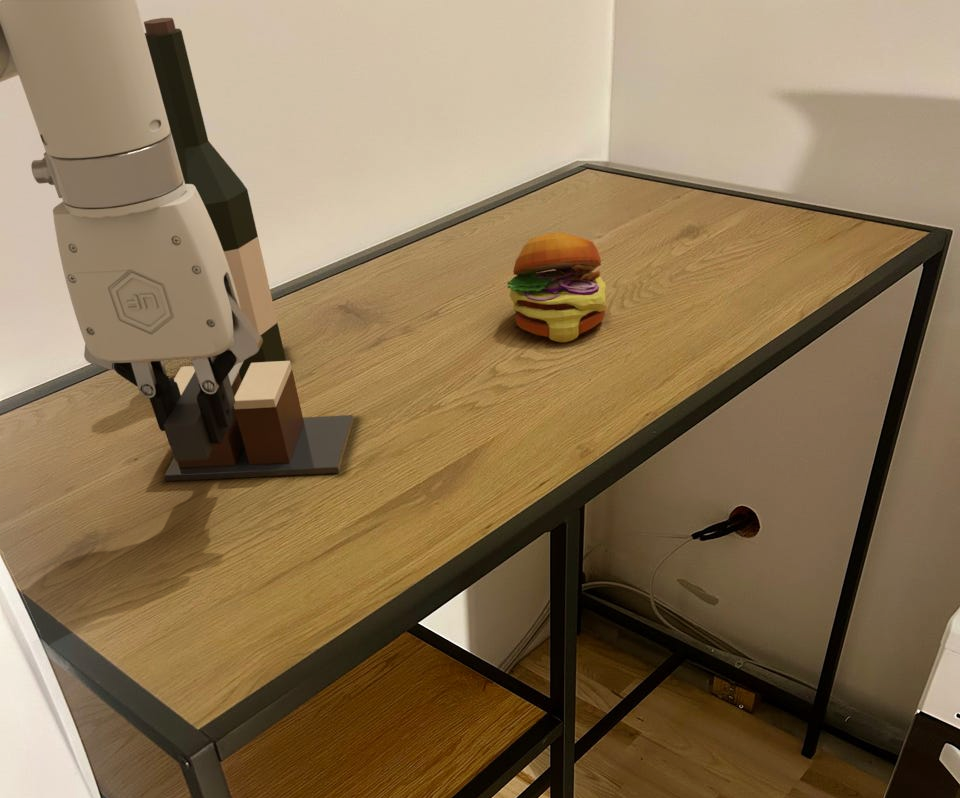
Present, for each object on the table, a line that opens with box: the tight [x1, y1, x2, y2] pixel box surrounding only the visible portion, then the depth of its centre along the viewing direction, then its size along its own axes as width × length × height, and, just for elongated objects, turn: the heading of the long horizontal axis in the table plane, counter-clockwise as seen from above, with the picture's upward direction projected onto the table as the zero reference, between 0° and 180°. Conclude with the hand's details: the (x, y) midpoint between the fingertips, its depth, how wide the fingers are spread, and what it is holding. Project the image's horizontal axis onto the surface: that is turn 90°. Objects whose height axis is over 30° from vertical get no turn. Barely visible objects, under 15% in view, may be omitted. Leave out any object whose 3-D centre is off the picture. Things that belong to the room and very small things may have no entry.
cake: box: [173, 365, 244, 468], centre depth 82 cm, size 5×7×6 cm
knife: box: [164, 338, 243, 461], centre depth 75 cm, size 18×2×3 cm, turn 178°
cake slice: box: [234, 360, 304, 465], centre depth 82 cm, size 4×7×6 cm, turn 178°
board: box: [164, 414, 355, 482], centre depth 84 cm, size 15×9×1 cm, turn 88°
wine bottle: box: [143, 17, 287, 381], centre depth 88 cm, size 8×8×30 cm
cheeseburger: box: [506, 232, 607, 344], centre depth 97 cm, size 10×11×10 cm
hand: (200, 434), depth 71 cm, fingers closed on knife, 2 cm apart
